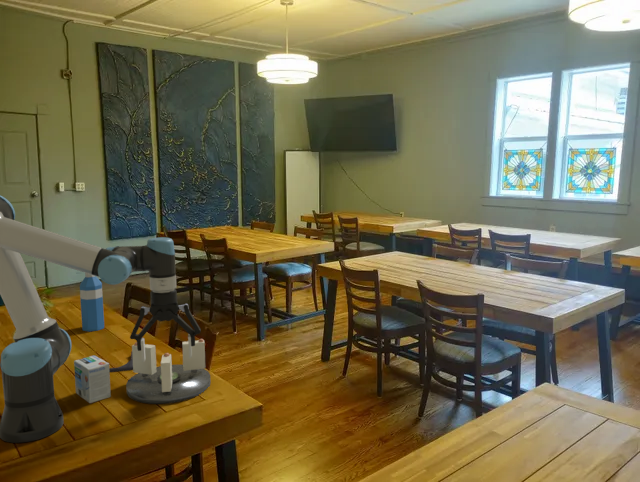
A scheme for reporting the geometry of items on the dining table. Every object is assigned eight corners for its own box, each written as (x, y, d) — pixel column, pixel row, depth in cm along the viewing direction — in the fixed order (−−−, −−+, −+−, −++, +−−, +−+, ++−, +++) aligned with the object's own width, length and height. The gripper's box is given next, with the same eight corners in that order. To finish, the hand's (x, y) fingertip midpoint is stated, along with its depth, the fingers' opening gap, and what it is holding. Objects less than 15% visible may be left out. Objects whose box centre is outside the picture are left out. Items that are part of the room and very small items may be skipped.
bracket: (153, 355, 196) (153, 348, 196) (153, 369, 182) (152, 362, 182) (113, 359, 192) (112, 352, 192) (109, 374, 178) (108, 366, 178)
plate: (171, 411, 150) (170, 398, 149) (108, 393, 162) (107, 380, 161) (226, 378, 173) (226, 367, 172) (167, 365, 185) (167, 354, 184)
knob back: (156, 375, 170) (155, 342, 168) (151, 378, 167) (150, 345, 166) (138, 372, 172) (136, 340, 170) (133, 375, 169) (131, 343, 168)
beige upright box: (183, 374, 171) (182, 341, 169) (183, 371, 173) (182, 339, 172) (205, 371, 173) (204, 339, 171) (204, 368, 175) (203, 337, 174)
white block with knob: (171, 395, 155) (169, 359, 154) (162, 396, 155) (160, 360, 153) (172, 385, 162) (171, 351, 160) (163, 386, 161) (162, 352, 160)
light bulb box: (75, 393, 162) (72, 360, 160) (96, 386, 167) (94, 354, 165) (90, 404, 155) (87, 369, 153) (112, 396, 159) (110, 363, 158)
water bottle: (99, 331, 222) (96, 274, 218) (77, 331, 222) (74, 274, 218) (108, 324, 231) (105, 269, 227) (87, 324, 231) (84, 269, 227)
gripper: (116, 295, 148) (122, 366, 151) (206, 290, 153) (209, 358, 156) (120, 289, 155) (125, 357, 158) (206, 284, 160) (209, 350, 163)
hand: (167, 358), depth 157 cm, fingers open, 13 cm apart
